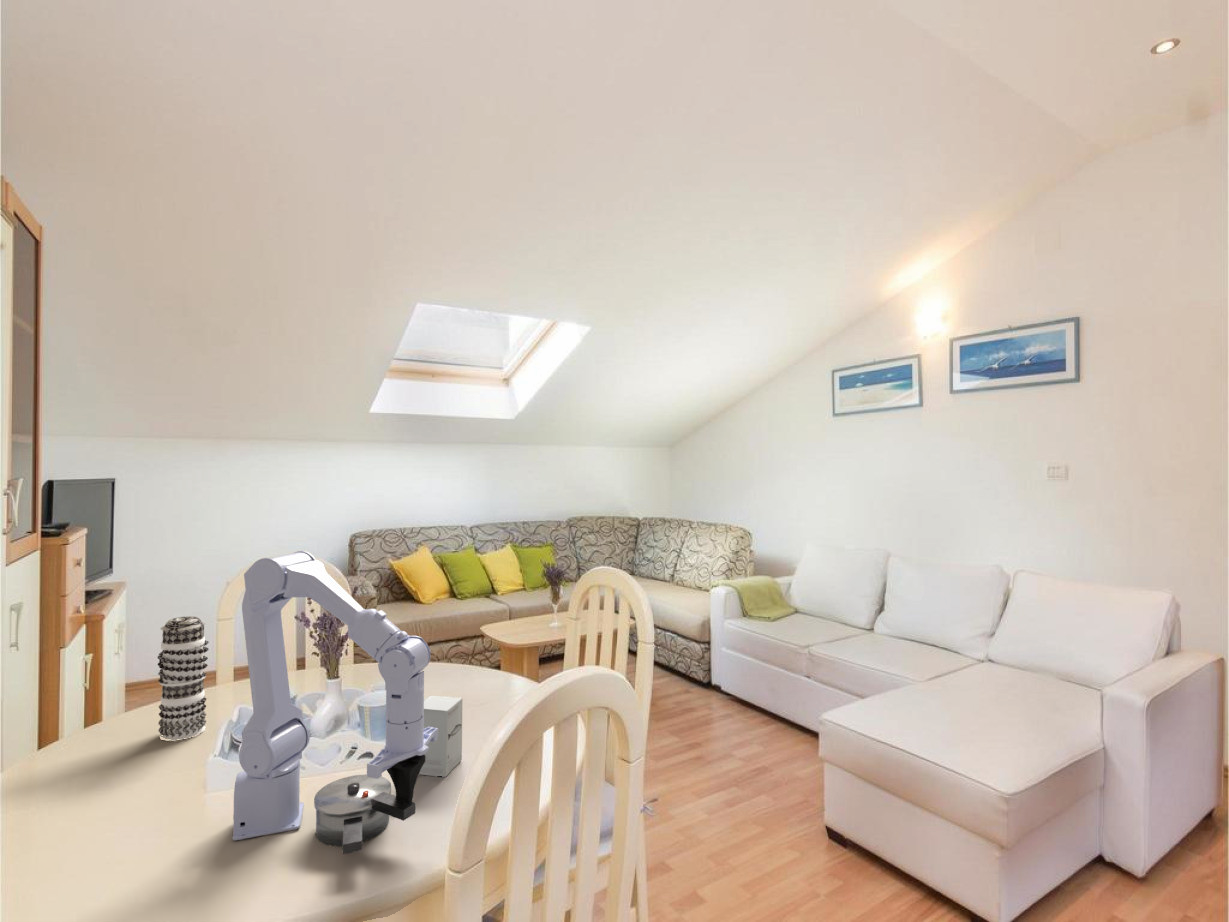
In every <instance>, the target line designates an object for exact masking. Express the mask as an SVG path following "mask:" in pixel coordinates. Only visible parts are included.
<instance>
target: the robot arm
mask: <svg viewBox="0 0 1229 922" xmlns="http://www.w3.org/2000/svg"><path fill="white" fill-rule="evenodd" d="M243 577H244V587H245V588H244V589H245V591H244V595H243V599H242V602H241V612H242V621H243V629H244V630H243V631H244V637H245V647H246V648H245V649H246V655H247V658H246V659H247V665H248V666H247V667H248V673H249V683H250V691H251V692H250V694H251V701H252V710H253V711H252V712H253V713H252V715H251V716H250V718H249V719H248V721H247V722H246V724H245V726H244V728H243V729H242V731H241V741H242V742H241V746H240V749H239V753H238V760H239V764H240V767H241V768H242V770H243V771H240V772H238V773H237V774H236V778H235V782H234V788H233V790H234V791H233V819H232V820H233V824H232V825H233V828H232V829H233V833H232V834H233V835H232V841H239V840H245V839H249V838H250V839H251V838H256V837H262V836H267V835H272V834H278V833H283V832H288V831H294V830H298V829H299V828H301V824H302V817H303V811H304V806H305V805H304V802H300V793H301V791H300V788H301V787H300V782H301V780H300V775H301V773H300V771H301V770H300V769H301V768H300V767H301V766H300V763H301V762H300V761H301V760H302V759H303V751H304V750H305V749H306V748H307V747H308V745H309V743H310V740H311V735H310V729H309V727H308V725H307V724H306V722H305V720H304V716H303V709H302V708H300V707H298V706H296V705H295V704H293V703H292V699H291V690H290V683H289V682H290V681H289V674H288V665H287V656H286V647H285V639H284V638H285V637H284V630H283V621H282V610H283V608H285V606H286V605H287V604H288V603H289V602H290V601H291V599H292V598H309V599H311V600H312V601H313V602H316V604H318V605H319V606H320V607H322V608H323V609H324V610H326V611H327V612H328V613H329V614H331V615H332V616H334V617H335V618H337V619H338V620H339V621H340V622H342V623H343V624H345V625H346V626H347V635H348V638H349V639H350V640H352V641H353V642H354V643H355V644H356V645H358V647H359V648H361V649H362V650H363V651H364V652H365V653H367V654H368V655H369V656H370V657H371V658H372V659H373V660H375V661H376V662H377V663H378V664H377V666H378V671H379V673H380V676H381V677H382V679H383V680H384V685H385V686H384V688H385V689H384V690H385V744H384V746H383V747H382V749H380V751H379V752H378V753H377V755H376V756H375V757H374V758H373V759H372V760H371V761H369V762H367V763H366V775H367V777H371V778H375V779H378V778H380V777H381V776H382V774H383V773H384V772H386V771H387V773H388V775H389V777H390V779H391V781H392V783H393V786H394V789H395V790H394V791H395V796H396V797H400V798H403V799H406V800H409V801H412V802H413V798H414V789H415V787H416V783H417V779H418V778H419V772H420V770H421V768H422V766H423V764H424V763H425V755H424V754H425V753H427V752H428V746H427V744H428V743H429V742H431V741H432V742H435V741H436V740H438V728H433V727H427V728H425V729H424V700H425V670H424V669H425V668H426V667H428V665H429V663H430V661H431V656H432V655H431V649H430V646H429V645H428V643H427V642H426V641H425V640H424V638H423V637H421V636H419V635H409V633H408V632H406V631H405V630H401V628H399V627H398V626H397V625H395V624H394V623H393V622H392V621H390V619H388V618H387V615H388V614H387V613H386V612H384V610H382V609H380V610H378V609H376V608H363V606H362V605H360V603H358V601H357V600H355V599H354V598H353V597H352V596H351V594H349V593H348V592H347V591H346V589H344V588H343V587H342V586H341V585H340V584H339V583H338V582H337V581H336V580H335V579H334V578H333V577H332V576H331V575H330V574H328V572H327V570H326V568H325V564H324V563H323V562H322V561H320V560H318V559H316V557H315V556H314V555H313V554H312V553H311V552H309V551H306V550H298V551H295V552H292V553H288V554H283V555H278V556H273V557H263V558H260V559H257V560H256V561H255V562H253V564H252V565H251V566H250V567H249V568H248V569H247V570H246V572H244V574H243ZM382 777H383V776H382Z"/></svg>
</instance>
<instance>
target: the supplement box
mask: <svg viewBox="0 0 1229 922" xmlns="http://www.w3.org/2000/svg"><path fill="white" fill-rule="evenodd" d="M427 727H433V728H438V740H436V741H435V742H432V741H431V742H429V743H428V744H427V746H428V752H427V753H425V754H424V755H425V763H424V764H423V766H422V768H421V770H420V772H419V775H420V776H431V777H437V776H442V777H441V778H447V776H448V775H449V774H450V773H451V771H453V769H455V767H456V766H457V765H458V764H460V763H461V761H462V760H463V758H462V757H463V755H462V754H463V753H462V752H463V697H454V696H444V695H443V696H441V695H440V696H439V695H429V696H428V697H426V698H424V729H425V728H427ZM419 775H418V776H419Z"/></svg>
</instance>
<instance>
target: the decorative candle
mask: <svg viewBox="0 0 1229 922" xmlns="http://www.w3.org/2000/svg"><path fill="white" fill-rule="evenodd" d="M205 625H206V623H205V622H204V621H202V620H201V619H200V618H199V617H197V616H180V617H173V618H171V619H169V620H168V621H166V622H165V625H164V626H162V627H160V630H161V631H162V641H161V642H160V643H161V645H160V649H161V650H162V651H161V652H159V654H158V656H157V659H158V660H159V661H158V663H157V666H158V668H160V670H159V672H158V673H157V674H158V676H159V678H158V682H159V685H160V686H162V688H161V693H162V694H161V696H160V705H158V709H159V710H160V712H159V713H158V716H159V717H160V720H158V725H159V728H158V733H159V736H161V735H163V736H161V737H163V738H165V739H171V740H177V739H184V738H189V737H192V736H195V735H197V734H200V733H201V732H203V731H204V730H205V731H206V729H205V728H206V723H207V720H206V716H207V713H206V708H207V705H206V704H205V703H206V701H207V697H205V688H204V685H205V684H204V683H205V682H204V681H205V680H204V679H206V677H207V673H206V672H204V670H205V669H206V668H207V667H208V663H205V662H206V661H207V660H208V657H207V656H205V655H204V654H205V653H206V652H208V651H209V649H210V648H209V647H207V645H208V644H209V641H208V640H206V637H205ZM205 731H204V732H205ZM204 732H203V733H204ZM160 734H161V735H160ZM200 735H201V734H200ZM195 737H196V736H195Z"/></svg>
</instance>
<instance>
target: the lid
mask: <svg viewBox="0 0 1229 922" xmlns="http://www.w3.org/2000/svg"><path fill="white" fill-rule="evenodd" d="M391 793H392V783H391V781H390V780H389V779H387V778H386V777H384V776H381V777H380V778H378V779H375V778H371V777H367V774H357V775H350V776H345V777H341V778H340V779H339V778H338V779H336V780H333V781H332V782H330V783H328V784H326V785H324V786H323V787H321V788H320V789H319V790H318V791H317V792H316V793H315V796H314V800H313V803H314V804H313V805H314V806H313V807H314V809H315V811H316V810H317V811H318V812H320V813H322V814H325V815H329V816H350V815H355V814H359V813H363V812H366V811H369V810H371V809H373V810H376V811H379V812H381V813H384V814H387V815H389V817H393V818H395V819H399V820H401V821H406V820H407V819H409V818H410V817H412V816H413V815H415V814H416V811H417V810H416V802H414V801H413V800H412V801H409V800H406V799H403V798H400V797H396V795H394V794H391Z"/></svg>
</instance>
